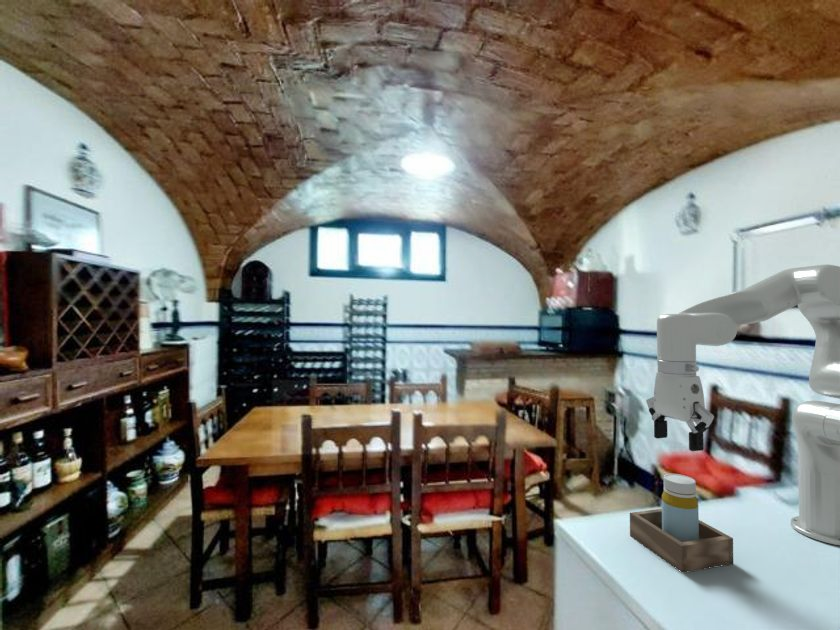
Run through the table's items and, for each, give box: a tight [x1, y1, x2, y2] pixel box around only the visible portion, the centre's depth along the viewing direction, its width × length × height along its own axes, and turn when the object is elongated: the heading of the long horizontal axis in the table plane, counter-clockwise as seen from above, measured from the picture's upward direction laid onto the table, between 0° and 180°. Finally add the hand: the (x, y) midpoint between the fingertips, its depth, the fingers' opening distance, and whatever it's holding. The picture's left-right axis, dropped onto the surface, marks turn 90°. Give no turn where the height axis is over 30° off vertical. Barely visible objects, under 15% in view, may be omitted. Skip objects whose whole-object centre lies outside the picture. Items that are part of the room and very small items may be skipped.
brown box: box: [629, 508, 734, 573], centre depth 94 cm, size 13×15×6 cm
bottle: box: [661, 473, 700, 542], centre depth 94 cm, size 7×7×15 cm
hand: (677, 443), depth 94 cm, fingers open, 9 cm apart
